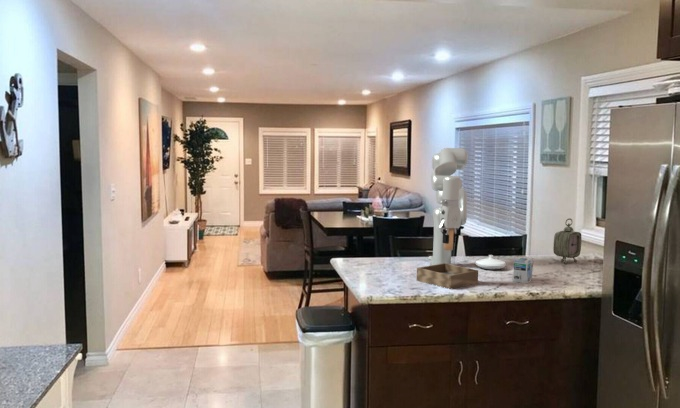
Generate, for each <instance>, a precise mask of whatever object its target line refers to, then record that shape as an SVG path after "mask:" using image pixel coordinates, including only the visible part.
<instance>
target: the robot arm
mask: <svg viewBox="0 0 680 408" xmlns="http://www.w3.org/2000/svg"><path fill="white" fill-rule="evenodd" d="M431 157H432V158H431V168H432V171H431V175H430V177H431V178H430V183H431V188H432V190H433V191H435V201H436V203H437V204H438V205H441V206H437V207H435V208H434V209H433V210H432V220H433V221H432V222H433V244H432V248H433V249H432V255H430V256H428V257H427V260H428V261H430V262H429V266H431V265H437V264H442V263H446V264H451V265H454V263H452V250H444V243H446V244H448V243H449V235H448V232H449V229H451V228H454V236H453V244H456V234H457V233H458V230H459V229H460V227H461V226H464V225H465V224H466V223H467V218H468V205H467V204H468V201H467V200H468V199H467V198H468V197H467V191H466V189H465V188H463V180H462V179H461V177H460V176H457V175H454V174H455V173H456V172H457V170H464V169H465V168H466V166H467V164H468V161H469V155H468V151H467V150H466V148H461V147H460V148H459V147H446V148H445V147H444V148H443V149H441V150H440V151H439V152H438V153H435V154H433V155H432V156H431ZM445 229H446V230H445Z"/></svg>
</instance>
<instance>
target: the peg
mask: <svg viewBox="0 0 680 408" xmlns="http://www.w3.org/2000/svg"><path fill="white" fill-rule="evenodd" d="M445 230H446V229H445ZM448 235H449V243H448V244H446V243H444V250H451V251H453V250H454V249H453V248H454V243H453V236H454V228H451V229H449V232H448Z"/></svg>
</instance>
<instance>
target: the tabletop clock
mask: <svg viewBox="0 0 680 408" xmlns="http://www.w3.org/2000/svg"><path fill="white" fill-rule="evenodd" d="M569 220H570V221H571V222H570V223H567V222H568V221H569ZM564 223H565V226H564V228H563V230H560V231H557V232H555V234H554V237H553V248H552V249H553V254H555V256H557V257H562V259H560V261H561V263H563V264H564V265H567V263H568V262H567V258H568V259H573V262H574V263H577V262H578V260H577V259H576V258H578V257H579V256H580V255H581V250H582V232H581V231H579V232H578V231H574V228H573V227H572V226H571V225H573V219H572V218H570V217H569V218H567V219H566V220H565V222H564Z"/></svg>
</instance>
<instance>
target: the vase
mask: <svg viewBox="0 0 680 408" xmlns="http://www.w3.org/2000/svg"><path fill="white" fill-rule="evenodd" d="M475 265H476V266H477V267H479V268H482V269H486V270H491V271H492V270H501V269H503V268H505V267H507V263H506V261H505V260H500V259H498V258H494V255H493V254H488V257H487V258H486V257H485V258H479V259H476V260H475Z"/></svg>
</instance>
